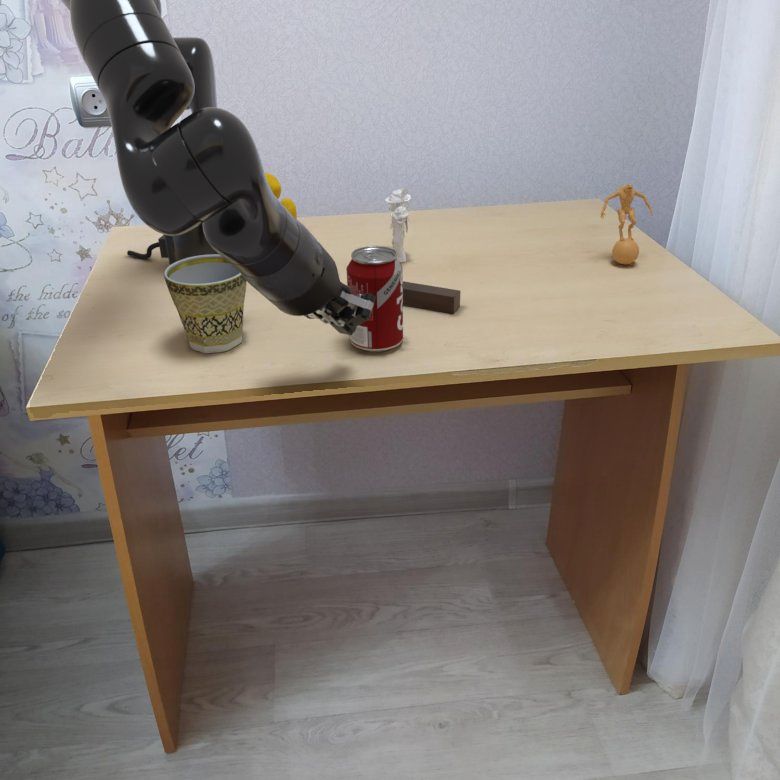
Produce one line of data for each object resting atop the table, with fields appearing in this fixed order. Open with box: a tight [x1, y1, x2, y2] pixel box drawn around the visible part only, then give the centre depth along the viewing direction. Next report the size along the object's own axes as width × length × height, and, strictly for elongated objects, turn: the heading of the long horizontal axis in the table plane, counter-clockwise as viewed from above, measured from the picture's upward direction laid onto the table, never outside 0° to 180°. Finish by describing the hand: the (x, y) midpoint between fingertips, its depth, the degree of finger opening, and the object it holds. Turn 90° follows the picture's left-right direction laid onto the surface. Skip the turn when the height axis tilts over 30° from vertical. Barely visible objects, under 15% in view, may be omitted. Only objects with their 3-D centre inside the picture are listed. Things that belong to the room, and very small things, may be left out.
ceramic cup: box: [163, 254, 248, 354], centre depth 98 cm, size 13×10×10 cm
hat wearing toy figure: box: [385, 187, 412, 263], centre depth 121 cm, size 9×4×12 cm, turn 4°
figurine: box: [600, 183, 654, 266], centre depth 118 cm, size 8×6×12 cm
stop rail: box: [403, 280, 461, 315], centre depth 108 cm, size 12×2×2 cm, turn 65°
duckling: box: [264, 172, 298, 220], centre depth 133 cm, size 11×5×10 cm, turn 51°
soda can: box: [346, 245, 404, 353], centre depth 95 cm, size 7×7×12 cm
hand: (349, 326), depth 90 cm, fingers closed
